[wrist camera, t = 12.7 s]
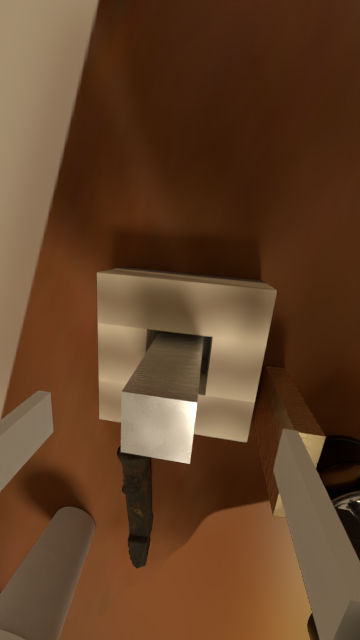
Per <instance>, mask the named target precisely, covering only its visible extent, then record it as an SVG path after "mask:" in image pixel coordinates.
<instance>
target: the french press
mask: <svg viewBox="0 0 360 640" xmlns="http://www.w3.org/2000/svg"><path fill="white" fill-rule="evenodd" d="M340 463H359V465H360V441H359V440H356V439H353V438H351V437H345V436H326V438H325V441H324V444H323V448H322V451H321V454H320V457H319V460H318V463H317V467H316V470H317V472H320V471H321V470H323V469H325V468H327V467H329V466H332V465H336V464H340ZM327 493H328V492H327ZM328 495H329V498H330V500H331V502H332V504H333V506H334V507H335V508H340V509H346V510H350V511H351V513H352V514H353V515H354V516H355V517H356V518H357V519H358V521H359V522H360V484H359V485H358V486H357V487H355V488H353V489H351V490H347V491H344V492H341V493H328Z"/></svg>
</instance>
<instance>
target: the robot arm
mask: <svg viewBox="0 0 360 640" xmlns="http://www.w3.org/2000/svg"><path fill="white" fill-rule="evenodd" d="M52 433H53V420H52V407H51V393H50V392H45V391H37V392H36V393H34V394H33V395H32V396H31V397H29V398H28V399H27V400H26V401H24V402H23V403H22V404H21V405H19V406H18V407H17V408H15V409H14V410H13V411H12V412H10V413H9V414H8V415H7V416H5V417H4V418H3V419H2V420H0V491H1V490H2V489H3V488H4V487H5V486H6V484H7V483H8V482H9V481H10V480H11V479H12V478H13V477H14V475H15V474H16V473H17V472H18V471H19V470H20V469H21V468H22V466H23V465H24V464H25V463H26V462H27V461H28V460H29V459H30V457H31V456H32V455H33V454H34V453H35V452H36V451H37V450H38V448H39V447H40V446H41V445H42V444H43V443H44V442H45V441H46V439H47V438H48V437H49V436H50V435H51V434H52ZM273 471H274V475H275V479H276V482H277V486H278V490H279V493H280V497H281V501H282V504H283V508H284V512H285V515H286V519H287V522H288V526H289V530H290V533H291V537H292V541H293V544H294V548H295V551H296V555H297V559H298V562H299V566H300V570H301V573H302V577H303V581H304V584H305V588H306V591H307V595H308V599H309V603H310V606H311V610H312V614H311V615H310V617H309V620H308V624H307V626H308V632H309V636H310V640H360V522H359V521H358V519H357V518H356V517H355V516H354V515H353V514H352V513H351V511H350V510H346V509H340V508H335V507H334V506H333V504H332V502H331V500H330V498H329V495H328V493H327V491H326V489H325V487H324V485H323V483H322V481H321V479H320V476H319V474H318V472H317V470H316V468H315V466H314V464H313V462H312V460H311V457H310V455H309V453H308V451H307V449H306V447H305V445H304V443H303V441H302V438H301V436H300V434H299V432H298V431H294V430H288V429H283V431H282V435H281V439H280V443H279V447H278V452H277V456H276V460H275V464H274V468H273Z"/></svg>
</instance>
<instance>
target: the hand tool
mask: <svg viewBox="0 0 360 640" xmlns="http://www.w3.org/2000/svg"><path fill="white" fill-rule="evenodd" d="M117 456H118V458H119V460H120V461H121V463H122V466H123V474H124V485H123V488H122V492H123V493H124V494H125V495H126V502H127V512H128V520H129V531H130V534H129V538H128V547H129V554H130V559H131V560H132V564H133V565H134V567H136V568H139V567H142V566H145V565H146V561H147V556H148V550H149V545H150V533H151V530H152V523H153V514H152V513H151V507H152V505H151V469H150V457H147V456H141V455H135V454H130V453H124V452H121V446H120V447H119V448H118V451H117Z"/></svg>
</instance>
